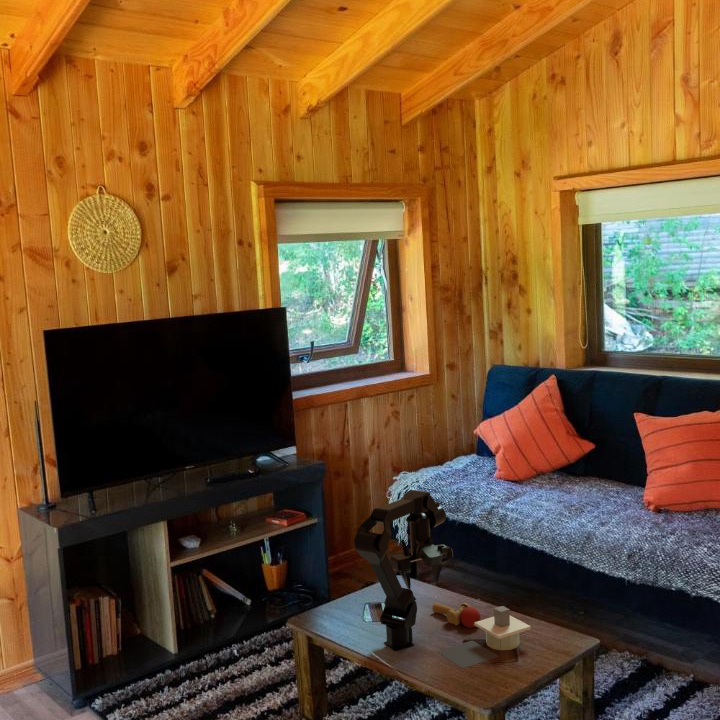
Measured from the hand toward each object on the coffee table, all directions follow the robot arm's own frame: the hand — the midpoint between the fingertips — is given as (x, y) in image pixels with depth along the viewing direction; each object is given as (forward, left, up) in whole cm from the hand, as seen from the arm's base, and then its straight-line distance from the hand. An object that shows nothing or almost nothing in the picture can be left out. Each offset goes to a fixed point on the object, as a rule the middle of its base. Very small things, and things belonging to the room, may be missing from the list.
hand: (422, 585), depth 263 cm
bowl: (+12, -22, -13) cm, 28 cm away
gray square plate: (0, -22, -13) cm, 25 cm away
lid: (+12, -22, -8) cm, 26 cm away
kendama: (+10, -1, -13) cm, 17 cm away
